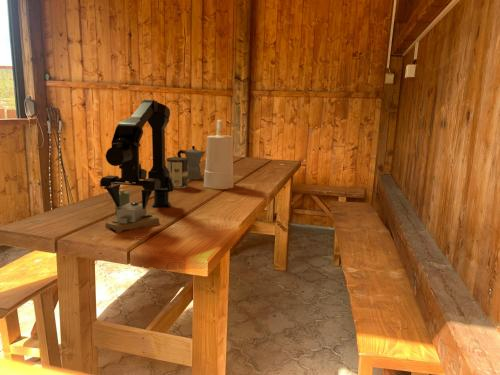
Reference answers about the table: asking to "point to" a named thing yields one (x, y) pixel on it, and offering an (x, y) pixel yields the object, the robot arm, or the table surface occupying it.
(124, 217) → the housing
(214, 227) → the table surface
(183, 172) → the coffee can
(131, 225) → the computer
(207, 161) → the paper towel roll holder
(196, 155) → the coffeepot
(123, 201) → the cylinder
